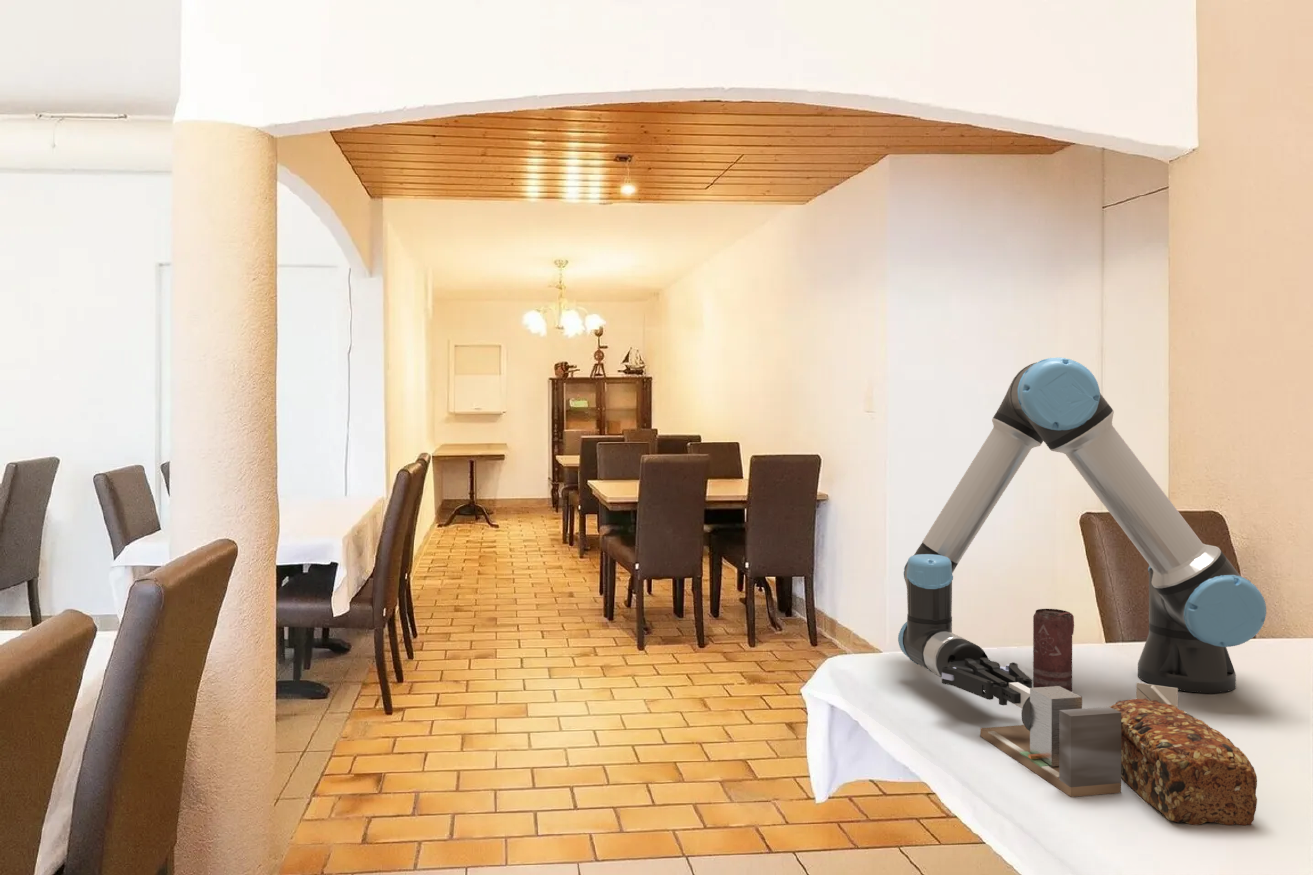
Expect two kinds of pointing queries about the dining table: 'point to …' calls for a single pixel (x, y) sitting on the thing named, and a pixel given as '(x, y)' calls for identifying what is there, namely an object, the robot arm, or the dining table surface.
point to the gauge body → (1072, 751)
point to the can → (1052, 648)
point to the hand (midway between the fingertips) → (1038, 705)
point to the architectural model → (1157, 693)
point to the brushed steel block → (1047, 720)
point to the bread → (1184, 765)
